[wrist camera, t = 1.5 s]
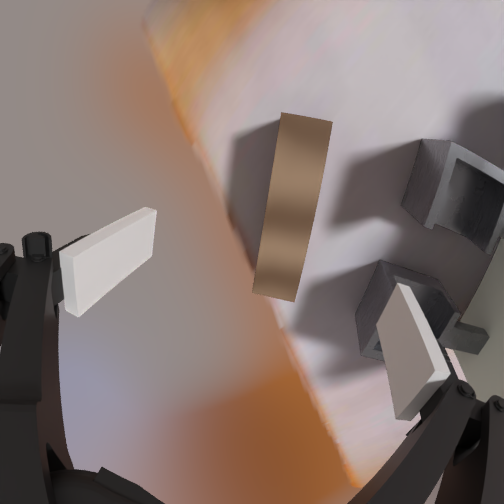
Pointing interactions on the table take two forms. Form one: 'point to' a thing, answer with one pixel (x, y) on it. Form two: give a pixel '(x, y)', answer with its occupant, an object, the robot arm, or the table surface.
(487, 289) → the backboard
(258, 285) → the rail
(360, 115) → the table surface
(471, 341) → the brackets
